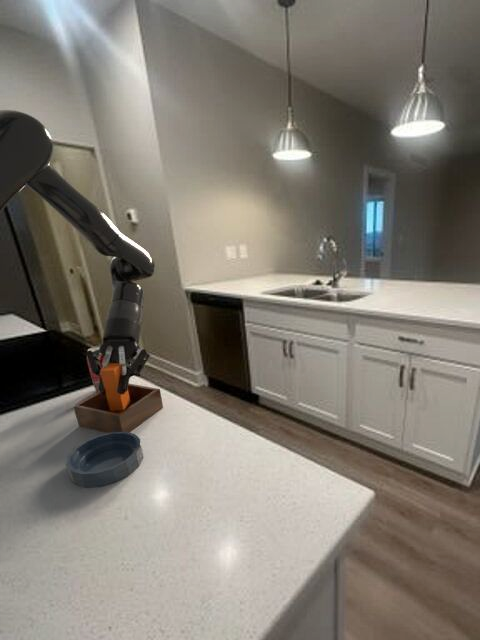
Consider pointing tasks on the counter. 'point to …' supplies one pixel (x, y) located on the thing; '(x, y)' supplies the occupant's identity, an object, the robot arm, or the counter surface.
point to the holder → (139, 409)
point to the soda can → (94, 377)
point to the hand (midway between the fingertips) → (112, 393)
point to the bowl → (105, 459)
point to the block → (114, 387)
